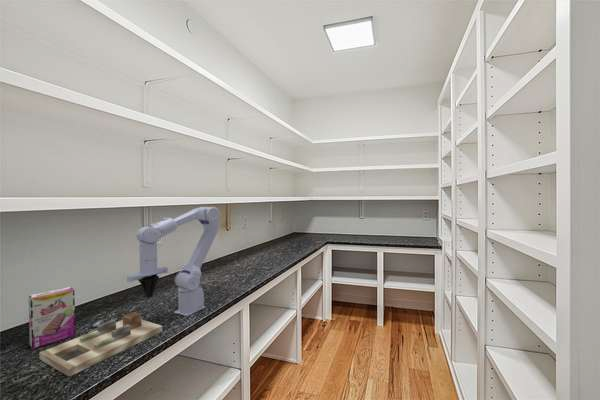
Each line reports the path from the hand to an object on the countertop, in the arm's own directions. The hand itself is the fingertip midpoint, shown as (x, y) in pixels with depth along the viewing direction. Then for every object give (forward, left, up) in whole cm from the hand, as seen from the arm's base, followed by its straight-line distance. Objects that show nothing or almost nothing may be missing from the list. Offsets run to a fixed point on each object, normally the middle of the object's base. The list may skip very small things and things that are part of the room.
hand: (149, 296), depth 103 cm
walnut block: (+7, 0, -8) cm, 11 cm away
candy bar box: (+22, -19, -11) cm, 31 cm away
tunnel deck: (+15, 0, -10) cm, 18 cm away
